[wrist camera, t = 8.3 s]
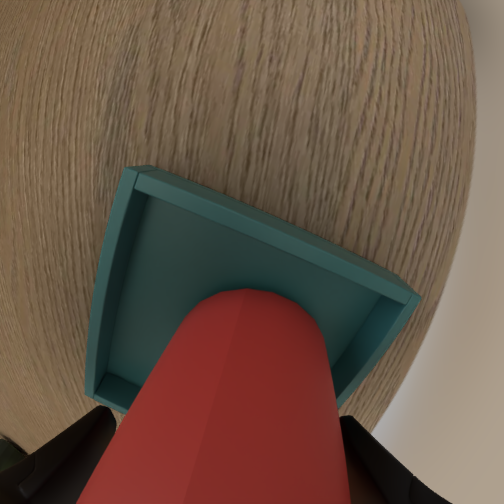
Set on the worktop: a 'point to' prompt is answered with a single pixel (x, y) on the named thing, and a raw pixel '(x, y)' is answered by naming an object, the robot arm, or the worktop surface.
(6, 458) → the potion bottle
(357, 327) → the tray
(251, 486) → the beer can
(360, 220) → the worktop surface
